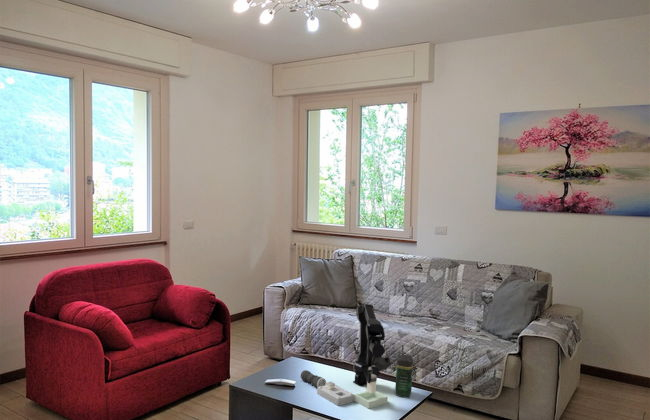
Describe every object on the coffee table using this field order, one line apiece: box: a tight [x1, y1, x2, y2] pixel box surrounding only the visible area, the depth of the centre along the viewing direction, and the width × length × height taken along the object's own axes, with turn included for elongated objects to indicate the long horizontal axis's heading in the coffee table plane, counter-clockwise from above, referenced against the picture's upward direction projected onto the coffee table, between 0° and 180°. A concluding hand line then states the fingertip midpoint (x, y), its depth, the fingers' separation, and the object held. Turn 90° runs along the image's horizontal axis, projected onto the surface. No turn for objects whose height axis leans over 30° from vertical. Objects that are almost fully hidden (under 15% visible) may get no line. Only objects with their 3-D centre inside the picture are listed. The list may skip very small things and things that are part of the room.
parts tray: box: [353, 390, 389, 409], centre depth 238 cm, size 12×10×3 cm
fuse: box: [326, 381, 336, 390], centre depth 244 cm, size 3×3×6 cm
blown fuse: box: [366, 373, 378, 394], centre depth 237 cm, size 3×3×8 cm
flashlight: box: [300, 369, 327, 388], centre depth 257 cm, size 15×5×5 cm, turn 38°
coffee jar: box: [394, 354, 414, 398], centre depth 249 cm, size 10×8×19 cm
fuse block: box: [316, 384, 355, 406], centre depth 241 cm, size 10×16×3 cm, turn 37°
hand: (371, 382), depth 237 cm, fingers closed on blown fuse, 3 cm apart
